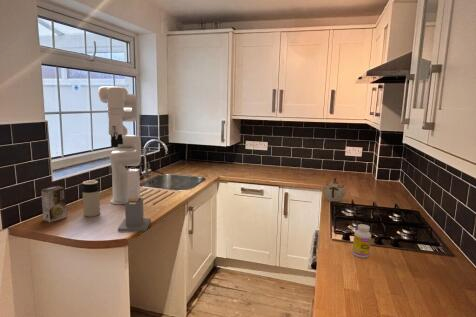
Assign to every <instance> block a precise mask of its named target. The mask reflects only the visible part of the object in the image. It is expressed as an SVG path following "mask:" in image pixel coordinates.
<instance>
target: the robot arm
mask: <svg viewBox="0 0 476 317" xmlns="http://www.w3.org/2000/svg"><path fill="white" fill-rule="evenodd" d="M97 93H98V94H97V95H98V98H99V101H100V102H101V103H105V104H107V117H108V134H109V135H110V147H111V148H113V149H114V150H113V151H111V152H110V153H109V161H110V166H111V177H112V178H111V180H112V198H110V204H112V205H125V202H126V201H127V199H128V170H129V169H127V168H126V167H127V166H128V167H129V166H130V167H135V166H139V165H140V164H141V162H142V153H141V151H142V150H141V148H142V147H141V139H140V137H139V135H136V134H128V128H127V127H126V126H125V125H124V122H130V123H131V122H133V123H134V122H136V121H137V120H138V118H139V114H138V113H139V112H138V111H139V110H138V99H137V96H136V95H135V94H134V93H129V92H128V90H127V88H125V87H123V86H110V85H109V86H107V85H106V86H105V85H104V86H100V87H99V88H98V91H97Z"/></svg>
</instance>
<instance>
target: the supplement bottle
mask: <svg viewBox="0 0 476 317" xmlns="http://www.w3.org/2000/svg"><path fill="white" fill-rule="evenodd" d="M371 240H372V234H371V232H370V225H368V224H363V223H360V224H357V229H356V230H354V233H353V241H352V244H353V245H352V254H353V255H354V256H355V257H357V258H364V259H365V258H368V257H369V256H370V248H371Z"/></svg>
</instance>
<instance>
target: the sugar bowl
mask: <svg viewBox="0 0 476 317" xmlns="http://www.w3.org/2000/svg"><path fill="white" fill-rule="evenodd" d="M322 193H323V196H324V197H325V199H326V200H327V199H328V200H331V201H339V202H340V201H341V200H343V198H344V197H345V196H346V194H347V190H346V188H345V187H344V185H342V184H340V183H339V182H337V178H336V177H335V178H333V182H329V183H326V184H325V185H324V186H322ZM328 200H327V201H328ZM331 201H330V202H331Z"/></svg>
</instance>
